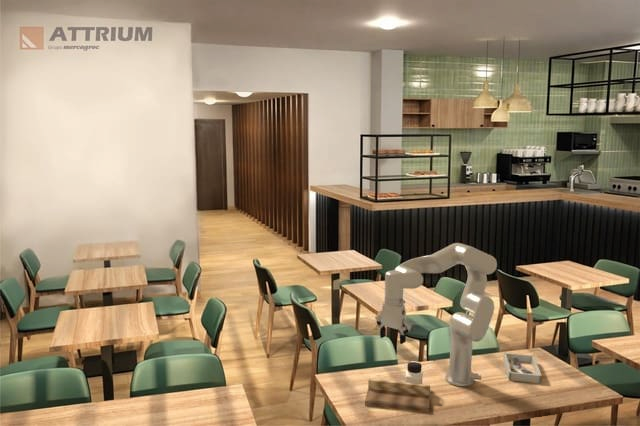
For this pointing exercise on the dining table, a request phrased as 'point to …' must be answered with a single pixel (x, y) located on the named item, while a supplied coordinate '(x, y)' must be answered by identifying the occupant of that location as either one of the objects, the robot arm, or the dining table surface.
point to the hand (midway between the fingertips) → (392, 340)
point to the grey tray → (522, 376)
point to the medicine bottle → (414, 373)
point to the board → (398, 395)
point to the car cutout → (519, 367)
